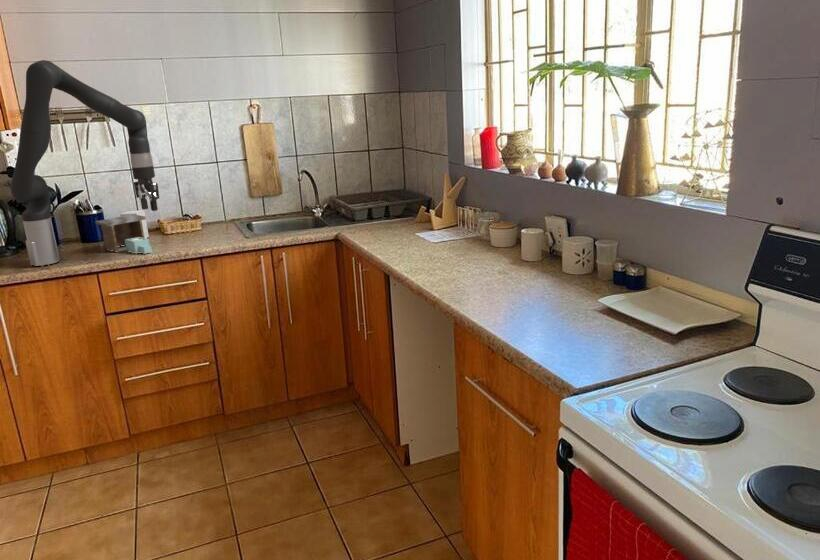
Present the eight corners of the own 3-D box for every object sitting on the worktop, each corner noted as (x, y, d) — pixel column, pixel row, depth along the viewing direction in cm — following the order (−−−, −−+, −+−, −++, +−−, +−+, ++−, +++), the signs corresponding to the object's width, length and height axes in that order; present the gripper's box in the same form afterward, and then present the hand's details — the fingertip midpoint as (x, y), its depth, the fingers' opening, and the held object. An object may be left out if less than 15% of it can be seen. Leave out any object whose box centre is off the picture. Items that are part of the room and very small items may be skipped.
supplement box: (149, 238, 286) (145, 209, 282) (141, 242, 279) (136, 213, 275) (133, 239, 287) (128, 210, 283) (124, 243, 280) (119, 213, 276)
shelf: (111, 253, 260) (106, 223, 257) (100, 250, 267) (95, 221, 263) (150, 245, 271) (145, 216, 268) (138, 242, 278) (133, 214, 275)
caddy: (155, 252, 258) (153, 240, 257) (141, 255, 254) (139, 243, 253) (141, 248, 266) (139, 236, 265) (126, 251, 262) (124, 239, 261)
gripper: (161, 164, 241) (168, 209, 246) (142, 163, 250) (149, 207, 255) (142, 167, 236) (149, 213, 240) (123, 166, 245) (131, 210, 249)
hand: (149, 209), depth 247 cm, fingers open, 6 cm apart
